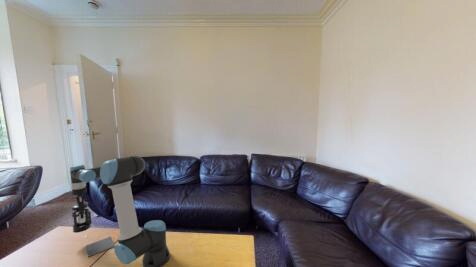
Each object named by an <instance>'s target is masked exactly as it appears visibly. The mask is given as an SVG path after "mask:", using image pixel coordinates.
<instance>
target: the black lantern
mask: <svg viewBox="0 0 476 267" xmlns="http://www.w3.org/2000/svg"><path fill="white" fill-rule="evenodd" d="M83 195H84V194H82V196H83ZM76 197H77V198H78V196H77V195H75V196H74V198H75V199H76ZM83 204H84V214H85V222H84V223H80V220H79V215H78V212H79V205H78V204H77V203H75V204H73V205H71V206H70V208H71V210H72V211H73V212H71V217H72V218H73V221H72V222H73V225H72V232H73V233H82V232H85V231H87V230H89V229H90V228H91V227H92V226H91V225H92V213H91V211H90V210H89V208H87V207H89V206H88V205H89V202H88V201H84V203H83ZM77 217H78V218H77Z"/></svg>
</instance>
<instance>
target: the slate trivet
mask: <svg viewBox="0 0 476 267" xmlns="http://www.w3.org/2000/svg"><path fill="white" fill-rule="evenodd" d="M115 245H116V244H115V243H114V240H113V238H112V236H108V237H106V238H103V239H100V240H97V241H94V242H92V243H89V244H86V245H85V247H86V253H87V258H91V257H93V256H95V255H97V254H100V253H104V252H106V251H108V250H111V249H112V248H115Z"/></svg>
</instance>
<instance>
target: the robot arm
mask: <svg viewBox="0 0 476 267" xmlns="http://www.w3.org/2000/svg"><path fill="white" fill-rule="evenodd" d="M145 169H146V162H145V160H144V159H143V158H142V157H141V156H139V155H138V156H137V155H131V156H125V157H121V158H114V159H110V160H106V161H104V162H103V163H102V164H101V166H96V167H91V168H86V166H85V164H82V163H81V164H74V165H72V166H70V168H69V174H70V185H71V195H72V196H75V197H76V196H78V198H77V197H76V198H75V199H76V204H78V205H79V212H77V215H79V217H78V218H79V220H80V223H84V222H85V214H84V213H85V211H84V209H85V208H84V204H83V203H84V202H85V200H84V199H85V196H84V194H86V193H87V192H88V191H87V190H88V189H87V183H91V182H93V181H94V180H97V179H100V181H101V183H103V184H104V185H107V188H109V189H110V190H111V192H112V198H113V203H114V207H115V213H116V218H117V223H118V229H119V236H118V237H117V243H116V244H114V245H115V247H113V248H114V254H115V256H116V259H118V260H119V262H120V263H121V264H123V265H129V264H131V263H133V262H134V261H137V259H139V258H140V257H142V267H163V266H164V265H165V264H166V263H168V262H169V260H170V257H171V253H170V250H169V248H168V245H167V232H166V231H167V226H166V223H165V222H164V221H163V220H160V219H157V220H156V219H155V220H150V221H147V222H145V223H144V226H143V228H142V227H140V226H139V222H138V217H137V212H136V208H135V202H134V197H133V193H132V186H131V184H132V182H133V177H136V176H137V175H138V176H139V175H140V174H141V173H142V172H143V171H144V170H145ZM82 195H83V196H82Z"/></svg>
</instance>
